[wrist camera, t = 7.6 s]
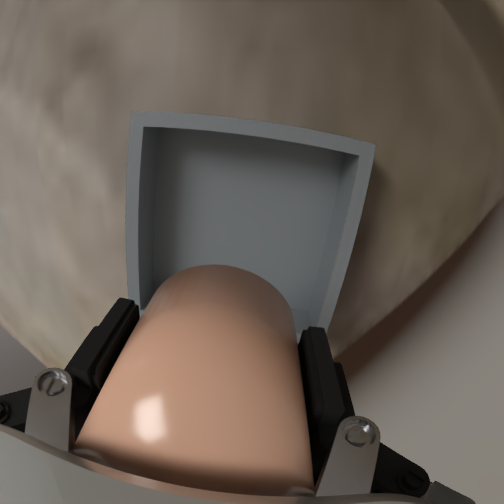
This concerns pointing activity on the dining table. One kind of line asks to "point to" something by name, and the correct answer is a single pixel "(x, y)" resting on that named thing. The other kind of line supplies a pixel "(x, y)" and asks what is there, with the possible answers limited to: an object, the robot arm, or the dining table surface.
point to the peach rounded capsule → (208, 390)
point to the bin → (244, 205)
